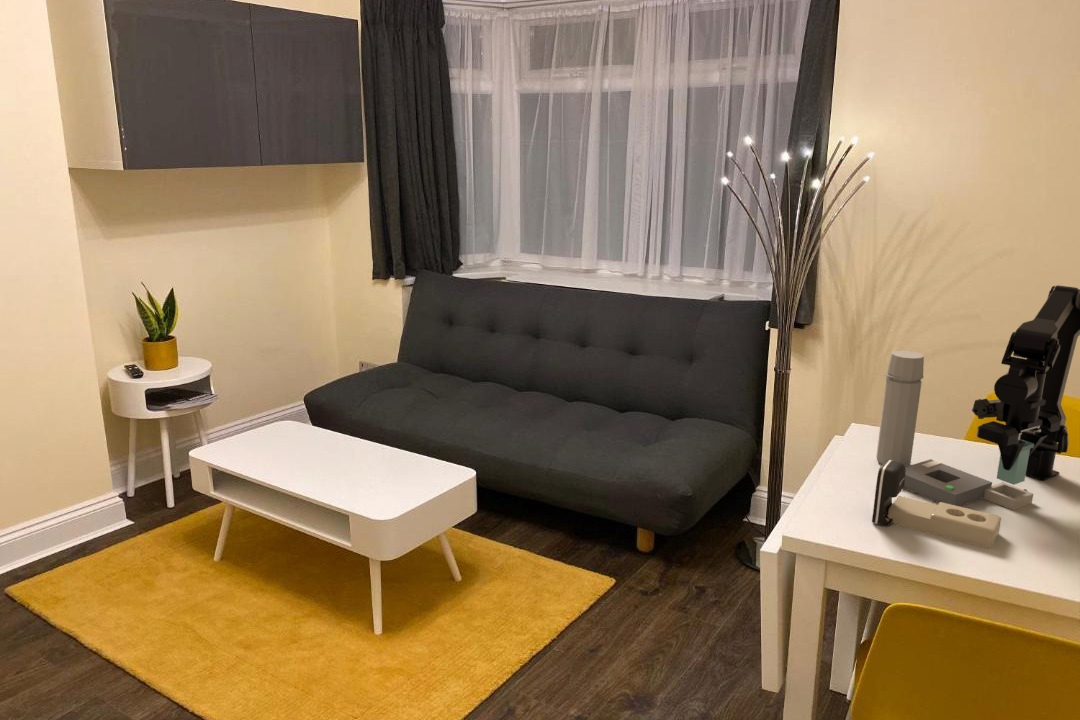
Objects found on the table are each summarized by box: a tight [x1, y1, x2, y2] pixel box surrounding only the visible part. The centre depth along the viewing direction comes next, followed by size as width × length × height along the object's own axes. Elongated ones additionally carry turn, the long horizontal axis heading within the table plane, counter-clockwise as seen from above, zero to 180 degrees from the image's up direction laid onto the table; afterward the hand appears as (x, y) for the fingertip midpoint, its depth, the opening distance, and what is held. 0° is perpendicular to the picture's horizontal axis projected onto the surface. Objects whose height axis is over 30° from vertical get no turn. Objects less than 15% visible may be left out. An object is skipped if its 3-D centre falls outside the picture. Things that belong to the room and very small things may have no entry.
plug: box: [996, 439, 1034, 486], centre depth 171 cm, size 4×4×8 cm
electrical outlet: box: [888, 495, 1002, 549], centre depth 161 cm, size 7×4×18 cm
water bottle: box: [875, 349, 925, 467], centre depth 189 cm, size 9×8×25 cm
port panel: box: [903, 458, 993, 507], centre depth 178 cm, size 12×14×3 cm
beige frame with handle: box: [983, 481, 1034, 511], centre depth 174 cm, size 9×6×2 cm
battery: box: [871, 460, 906, 527], centre depth 163 cm, size 7×4×11 cm, turn 144°
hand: (1012, 467), depth 171 cm, fingers closed on plug, 4 cm apart
